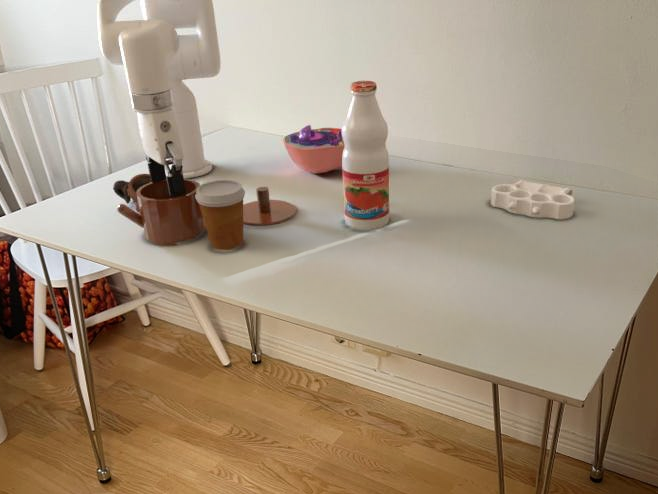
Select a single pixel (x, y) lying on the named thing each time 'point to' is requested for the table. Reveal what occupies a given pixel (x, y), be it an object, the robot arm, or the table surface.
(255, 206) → the lid
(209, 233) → the disposable coffee cup
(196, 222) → the brown hollow round container
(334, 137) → the cell model
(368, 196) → the fruit juice
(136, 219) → the teapot spout handle
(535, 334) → the table surface
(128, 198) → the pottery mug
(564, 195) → the knuckle duster
